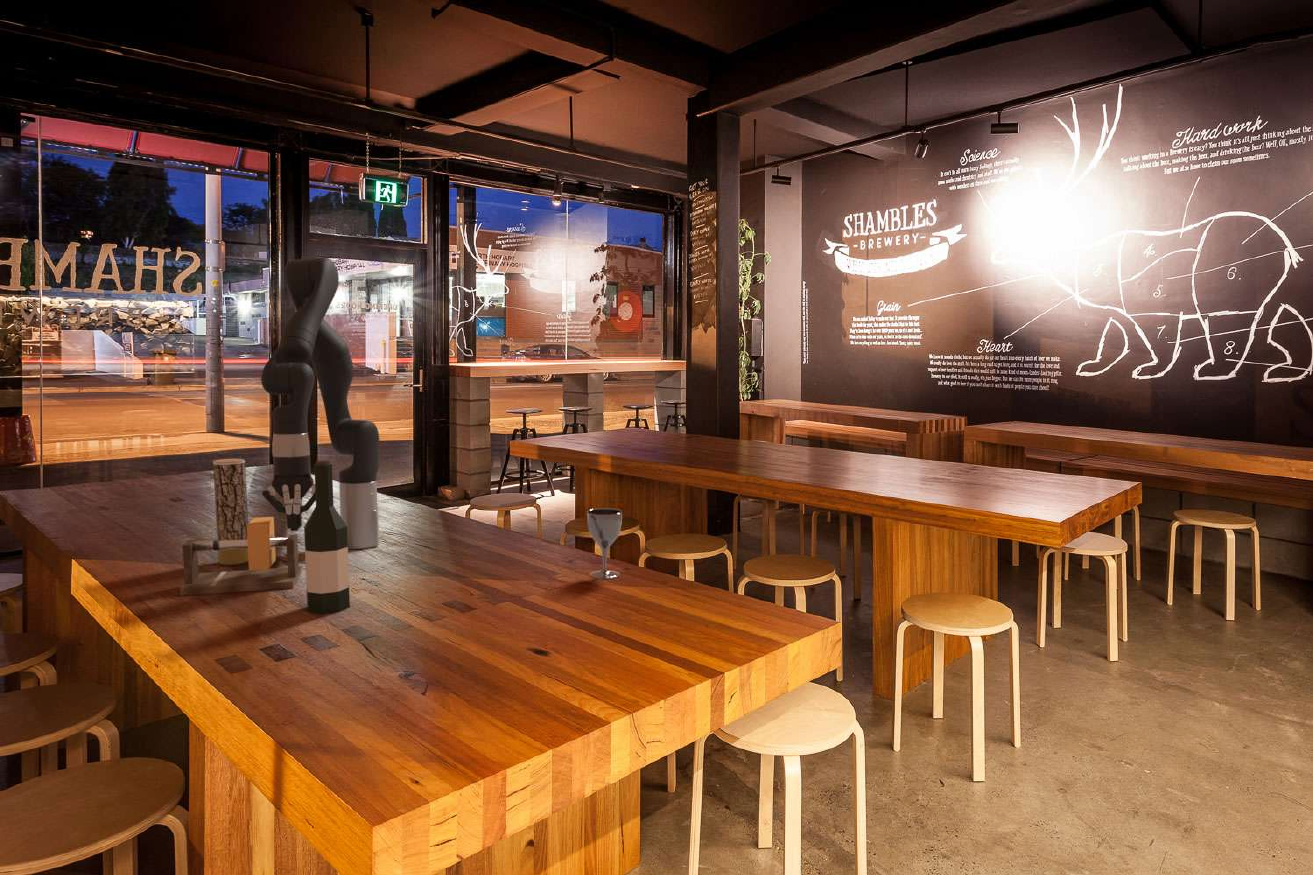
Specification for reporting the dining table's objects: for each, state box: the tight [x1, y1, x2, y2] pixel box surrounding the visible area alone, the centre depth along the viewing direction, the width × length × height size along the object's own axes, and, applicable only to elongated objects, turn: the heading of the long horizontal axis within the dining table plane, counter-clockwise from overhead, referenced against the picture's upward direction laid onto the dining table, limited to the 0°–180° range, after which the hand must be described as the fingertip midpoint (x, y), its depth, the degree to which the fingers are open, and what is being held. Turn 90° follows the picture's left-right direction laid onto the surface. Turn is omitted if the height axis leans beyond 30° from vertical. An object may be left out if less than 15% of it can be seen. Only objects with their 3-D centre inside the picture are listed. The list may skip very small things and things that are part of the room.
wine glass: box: [587, 507, 623, 580], centre depth 191 cm, size 8×8×15 cm
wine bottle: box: [303, 459, 351, 615], centre depth 164 cm, size 8×8×30 cm
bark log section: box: [212, 458, 249, 566], centre depth 198 cm, size 7×7×25 cm
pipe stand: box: [179, 534, 302, 596], centre depth 181 cm, size 22×12×10 cm, turn 105°
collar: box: [247, 516, 277, 570], centre depth 182 cm, size 4×8×10 cm, turn 15°
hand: (294, 530), depth 184 cm, fingers closed
